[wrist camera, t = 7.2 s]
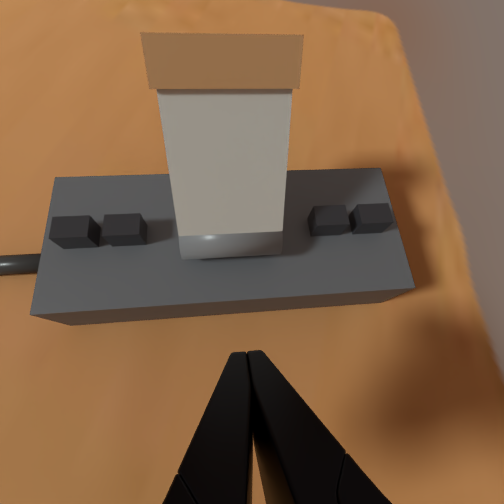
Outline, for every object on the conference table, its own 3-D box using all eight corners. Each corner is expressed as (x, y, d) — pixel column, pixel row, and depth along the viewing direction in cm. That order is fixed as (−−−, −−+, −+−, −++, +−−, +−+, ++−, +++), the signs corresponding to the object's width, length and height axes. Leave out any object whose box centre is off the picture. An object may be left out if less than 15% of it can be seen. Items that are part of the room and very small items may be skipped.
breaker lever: (285, 261, 15) (303, 34, 10) (178, 267, 15) (140, 32, 10) (278, 241, 17) (290, 38, 12) (182, 246, 16) (151, 36, 11)
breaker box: (381, 302, 20) (431, 280, 15) (-65, 335, 17) (-184, 322, 12) (356, 200, 23) (391, 153, 18) (-30, 215, 20) (-116, 165, 15)
